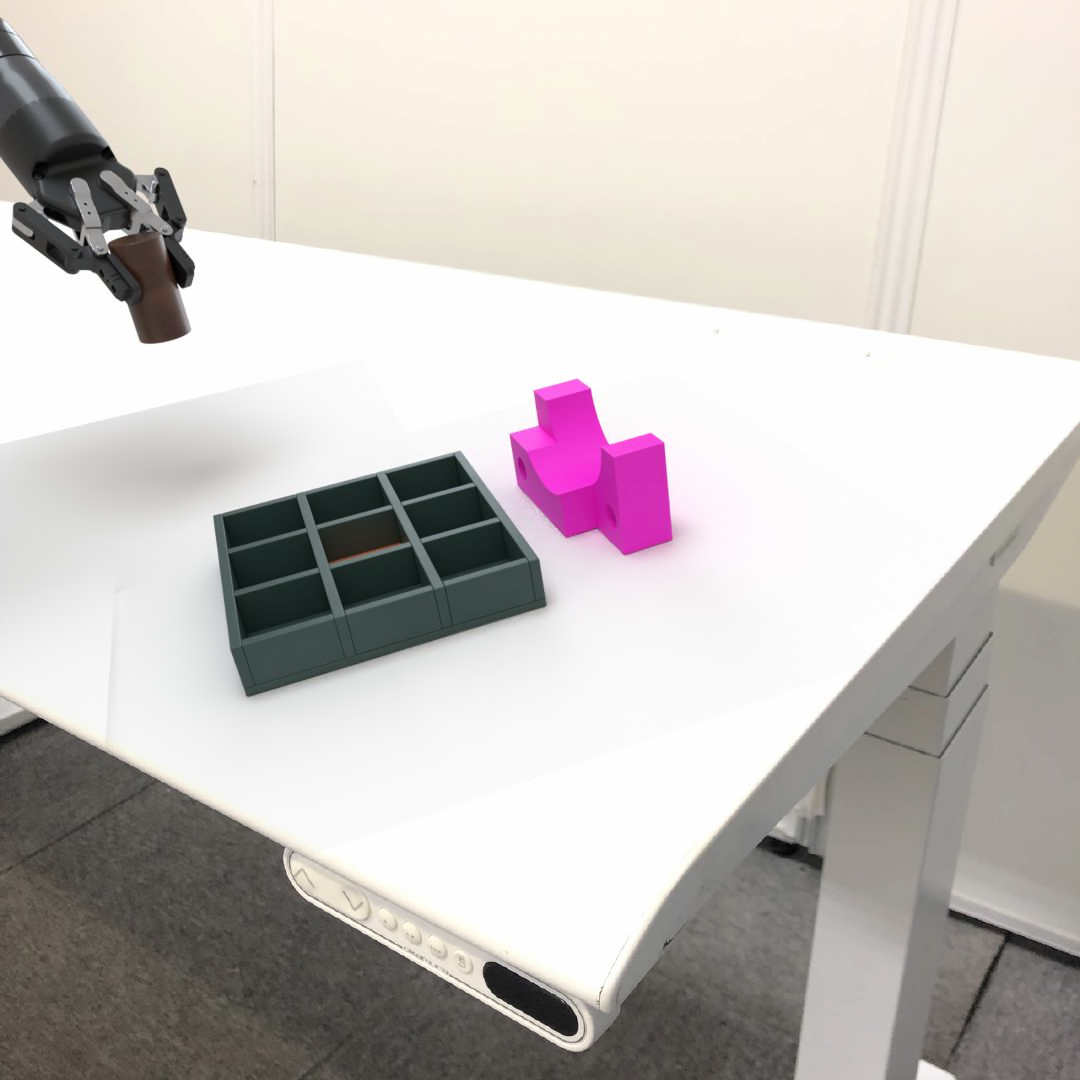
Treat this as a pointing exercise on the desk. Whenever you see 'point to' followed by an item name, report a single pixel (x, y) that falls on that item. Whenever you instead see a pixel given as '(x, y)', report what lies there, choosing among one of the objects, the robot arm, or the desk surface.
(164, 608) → the desk surface
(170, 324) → the cylinder
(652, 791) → the desk surface
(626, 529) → the toy block
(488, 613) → the grid
